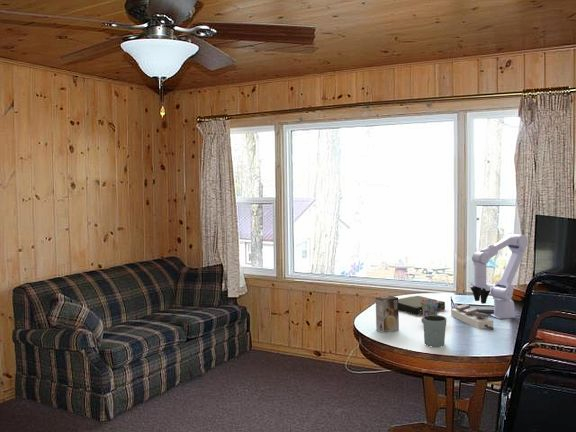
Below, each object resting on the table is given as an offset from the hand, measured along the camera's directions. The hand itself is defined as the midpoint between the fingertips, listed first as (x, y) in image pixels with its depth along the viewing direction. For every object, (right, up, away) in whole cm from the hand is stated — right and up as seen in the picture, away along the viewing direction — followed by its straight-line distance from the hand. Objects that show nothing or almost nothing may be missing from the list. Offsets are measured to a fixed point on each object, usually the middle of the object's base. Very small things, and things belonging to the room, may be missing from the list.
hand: (480, 302), depth 288 cm
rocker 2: (-5, -5, -1) cm, 7 cm away
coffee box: (-49, -12, -12) cm, 52 cm away
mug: (-25, -10, +2) cm, 27 cm away
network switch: (-25, -9, +28) cm, 39 cm away
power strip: (-4, -10, -3) cm, 11 cm away
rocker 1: (-7, -5, +7) cm, 11 cm away
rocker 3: (-3, -6, -9) cm, 11 cm away
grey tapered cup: (-32, -13, -36) cm, 50 cm away
